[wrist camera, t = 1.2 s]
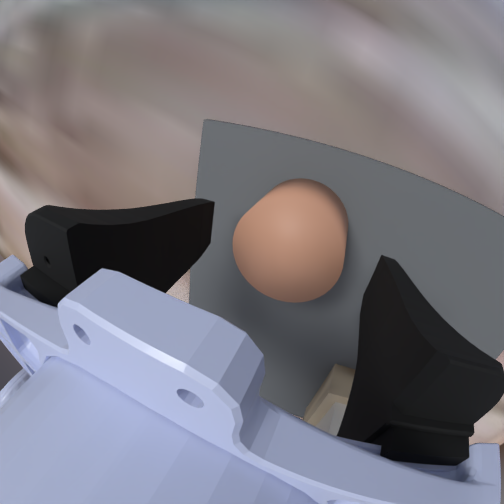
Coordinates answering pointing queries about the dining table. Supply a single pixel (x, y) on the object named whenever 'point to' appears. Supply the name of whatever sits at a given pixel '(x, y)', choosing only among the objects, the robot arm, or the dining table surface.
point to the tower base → (330, 393)
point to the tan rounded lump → (293, 241)
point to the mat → (356, 254)
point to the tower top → (332, 419)
